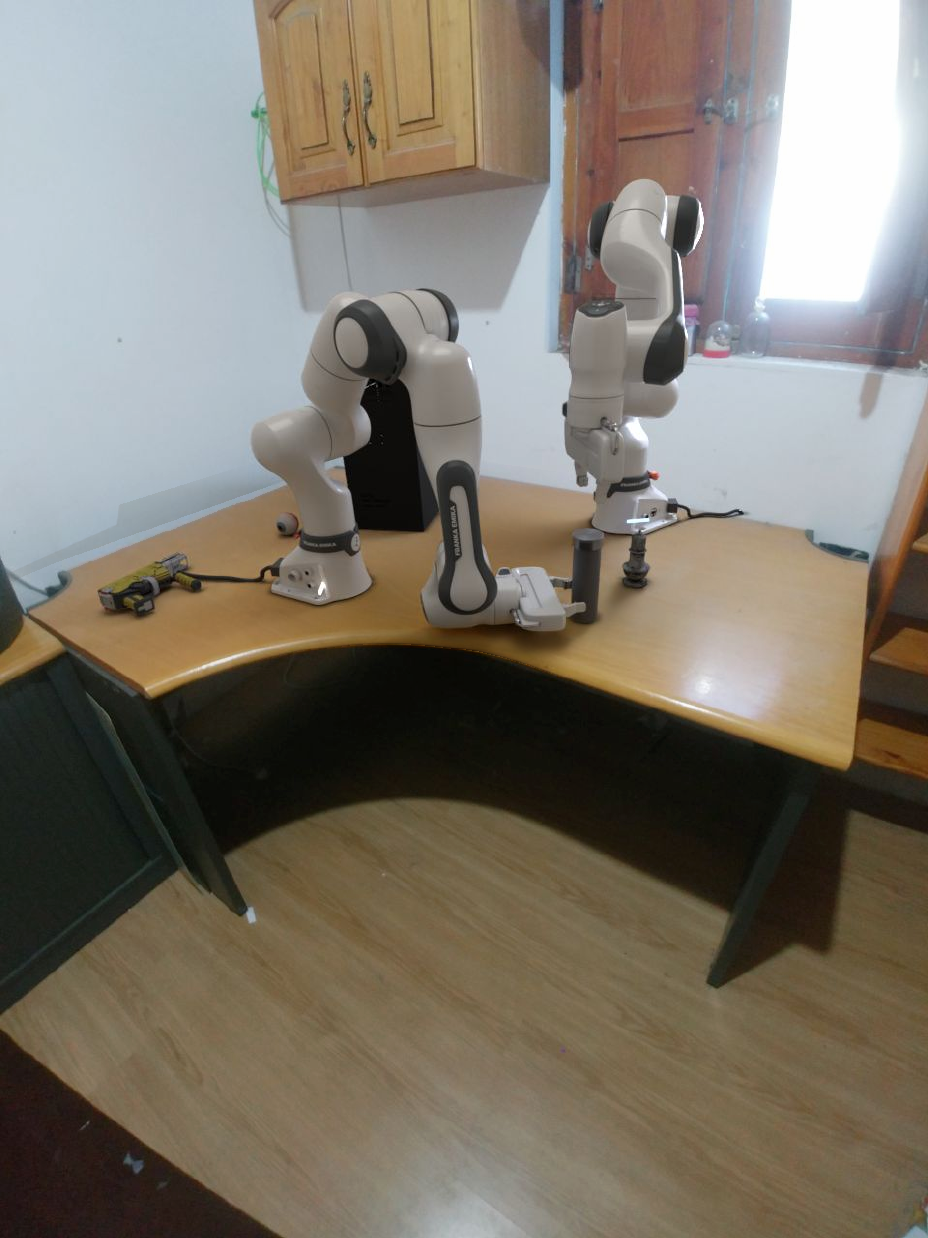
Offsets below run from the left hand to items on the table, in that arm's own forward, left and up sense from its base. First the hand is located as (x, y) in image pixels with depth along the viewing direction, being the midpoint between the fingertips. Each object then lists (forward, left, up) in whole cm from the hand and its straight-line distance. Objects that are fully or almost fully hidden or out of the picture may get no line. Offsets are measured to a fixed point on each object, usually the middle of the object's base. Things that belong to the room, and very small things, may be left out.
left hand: (578, 594), depth 116 cm
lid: (+1, +1, +12) cm, 12 cm away
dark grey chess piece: (+9, +18, -5) cm, 21 cm away
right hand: (+1, +1, +20) cm, 20 cm away
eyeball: (-84, +26, -5) cm, 87 cm away
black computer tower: (-60, +53, -5) cm, 80 cm away
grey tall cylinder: (+1, +1, -5) cm, 5 cm away
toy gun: (-92, -12, -5) cm, 93 cm away
